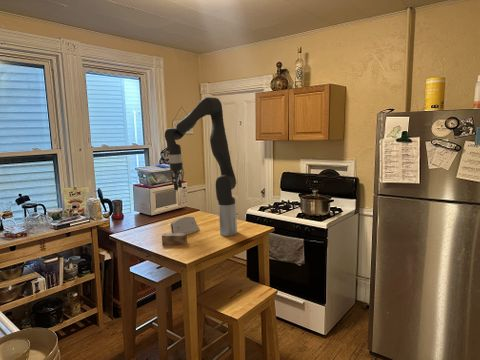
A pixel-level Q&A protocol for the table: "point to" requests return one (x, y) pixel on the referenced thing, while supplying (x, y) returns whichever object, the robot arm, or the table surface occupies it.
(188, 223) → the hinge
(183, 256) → the table surface
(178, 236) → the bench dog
